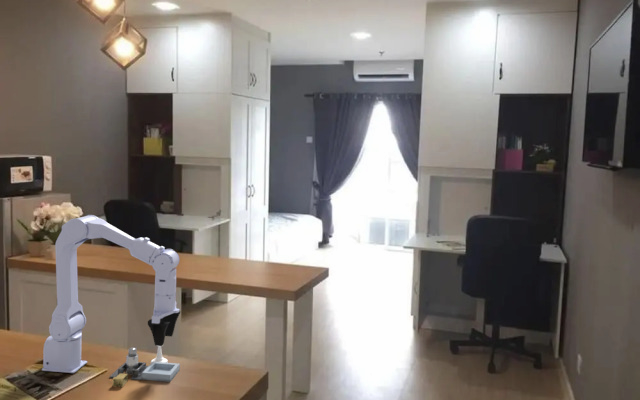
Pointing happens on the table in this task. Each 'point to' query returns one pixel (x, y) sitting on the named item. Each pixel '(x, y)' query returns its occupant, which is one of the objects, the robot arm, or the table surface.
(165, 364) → the tray
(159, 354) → the chess piece
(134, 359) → the stepped metal cylinder
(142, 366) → the socket
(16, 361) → the table surface
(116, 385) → the tan stepped block
